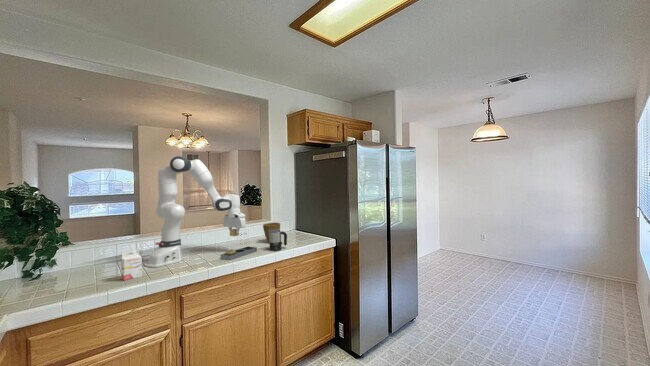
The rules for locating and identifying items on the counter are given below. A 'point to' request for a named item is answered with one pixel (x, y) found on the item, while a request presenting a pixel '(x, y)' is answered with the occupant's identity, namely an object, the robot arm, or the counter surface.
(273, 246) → the milk frother
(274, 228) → the plant pot
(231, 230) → the cage nut
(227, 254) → the nut
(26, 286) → the counter surface
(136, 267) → the ink cartridge box
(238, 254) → the grey compartment tray
